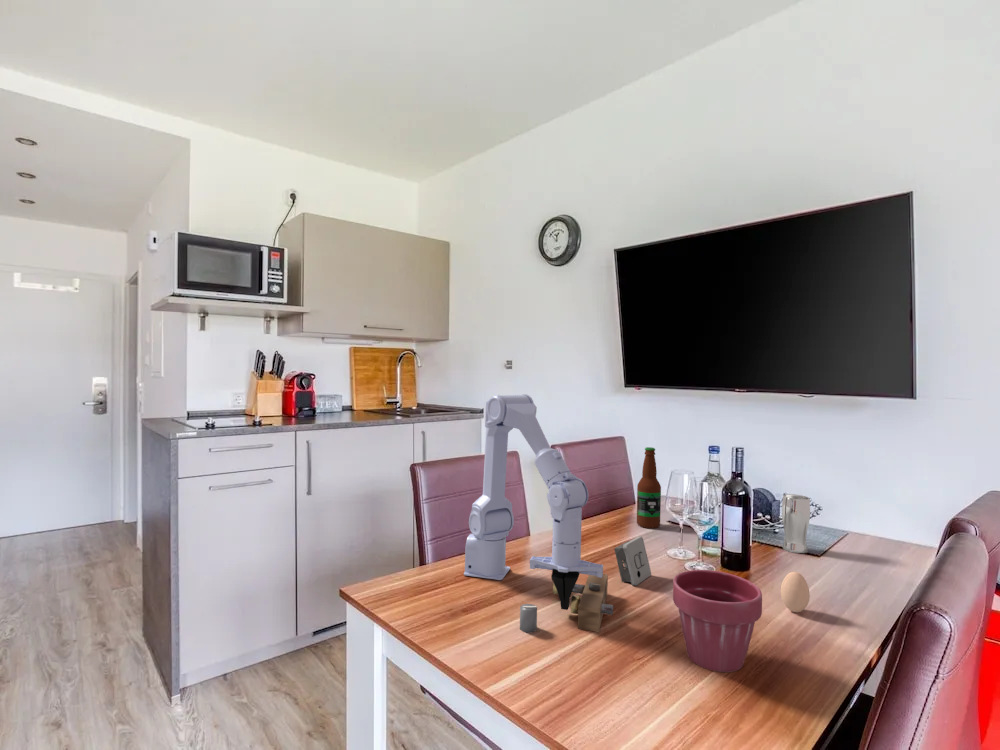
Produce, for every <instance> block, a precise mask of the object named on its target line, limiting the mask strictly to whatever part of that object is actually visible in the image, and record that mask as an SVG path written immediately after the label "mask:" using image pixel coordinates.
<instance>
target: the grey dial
mask: <svg viewBox="0 0 1000 750" xmlns="http://www.w3.org/2000/svg"><path fill="white" fill-rule="evenodd" d="M519 610H520V611H519V630H520V631H521V632H523V633H529V634H530V633H535V632H537V626H538V624H537V623H538V606H537V605H535V604H531V603H525V604H524V603H523V604H522V605H520V607H519Z"/></svg>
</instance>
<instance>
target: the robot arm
mask: <svg viewBox="0 0 1000 750" xmlns="http://www.w3.org/2000/svg"><path fill="white" fill-rule="evenodd" d="M484 416H485V417H484V427H485V442H484V443H485V444H484V460H483V461H484V463H483V464H484V465H483V484H482V495H480V496H479V497H478V498H477V499H476V500H475V501H474V502H473V503H472V504H471V511H470V514H469V517H468V518H469V519H468V526H469V530H470V532H471V533H469V535H468V536H467V537H466V541H465V542H466V543H465V548H464V549H465V550H464V571H463V575H464V576H469V577H475V578H476V577H477V578H483V579H488V580H497V581H502V580H503V579H504V578H505V576H506V575H507V574H508V572H509V571H510V569H511V567H510V566H508V565H506V556H507V555H506V553H507V537H509V536H510V533H509V532H510V531H512V529H513V528H514V525H515V518H514V514H513V503H512V502H511V501H510V500H509V499H508V498H507V497H506V479H507V463H508V461H507V459H508V442H509V433H510V432H511V431H512V430H513V429H518V430H519V431H520V433H521V435H522V436H523V438H524V439H525V441H526V442H527V444H528V445H529V447H530V449H531V450H532V451H533V452H534V454H535V458H534V465H535V467H536V469H537V471H538V473H539V474H540V476H541V478H542V479H543V480H542V481H543V482H544V484H545V486H546V488H547V489H548V493H546V499H547V502H548V505H549V507H550V508H549V509H550V515H551V518H552V543H551V544H552V546H551V548H552V549H551V551H552V552H551V556H534V555H532V556H531V557H530V559H529V569H530V570H531V569H532V570H535V569H540V570H548V571H551V575H550V577H551V580H552V584H553V583H554V585H555V587H556V589H557V592H558V594H557V595H558V599H559V602H560V609H561V610H564V611H565V610H566V611H568V610H569V608H570V604H571V602H570V601H571V598H572V595H573V594H572V593H573V592H572V590H573V588H574V586H575V584H577V582H578V579H579V577H580V575H587V576H588V575H594V576H597V577H600V578H602V576H603V574H604V564H600V563H594V562H591V561H587V560H583V559H582V558H581V557H582V556H581V555H582V553H581V552H582V516H583V515H582V513H583V507H585V506H586V504H587V502H588V501H589V490H588V488H587V485H586V483H585V481H584V480H583V479H581V478H579V477H578V476H576V474H573V473H572V472H571V470H570V468H569V466H568V465H567V463H566V461H565V460H564V458H563V456H562V453H561V452H560V451H559V450H558V449H556V448H551V447H550V444H549V442H548V440H547V438H546V436H545V434H544V431H543V429H542V427H541V425H540V423H539V421H538V419H537V417H536V416H537V406H536V404H535V403H534V400H533V398H532V397H531V396H530V395H528V394H513V395H512V394H506V395H500V394H494V395H492V396H491V397H490V398H489V399H487V401H486V402H485V415H484Z"/></svg>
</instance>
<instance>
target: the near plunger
mask: <svg viewBox="0 0 1000 750" xmlns="http://www.w3.org/2000/svg"><path fill="white" fill-rule="evenodd" d="M581 597H582V595H575V594H571V599H570V601H571V602H570V614H575V615H578V606H579V603H580V600H581ZM601 613H603V615H610V616H611V615H614V605H613V604H608V603H605V604H602V605H601Z"/></svg>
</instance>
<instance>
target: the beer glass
mask: <svg viewBox="0 0 1000 750" xmlns="http://www.w3.org/2000/svg"><path fill="white" fill-rule="evenodd" d="M810 502H811V501H810V497H808V496H807V495H806V496H805V495H802V494H795V493H787V494H783V495H782V504H781V505H782V506H781V516H782V518H781V520H782V524H783V530H784V539H783V544H782V549H783V550H784V551H786V552H788V553H789V552H790V553H793V554H794V553H795V554H807V553H808V547H807V535H808V534H807V533H808V529H809V524H810V519H811V503H810Z"/></svg>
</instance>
